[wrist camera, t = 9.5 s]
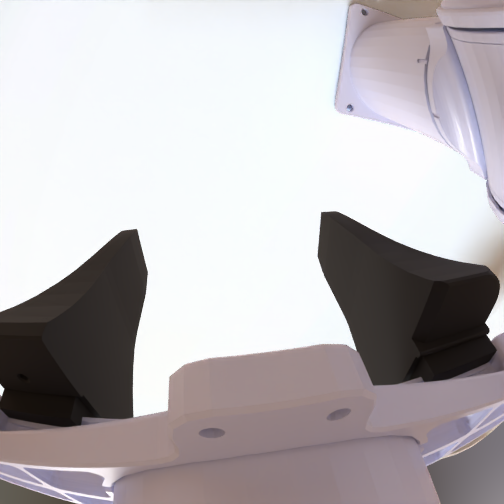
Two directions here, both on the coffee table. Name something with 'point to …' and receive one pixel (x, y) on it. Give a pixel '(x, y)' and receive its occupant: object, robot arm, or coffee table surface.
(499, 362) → the robot arm
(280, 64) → the coffee table surface
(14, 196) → the coffee table surface
